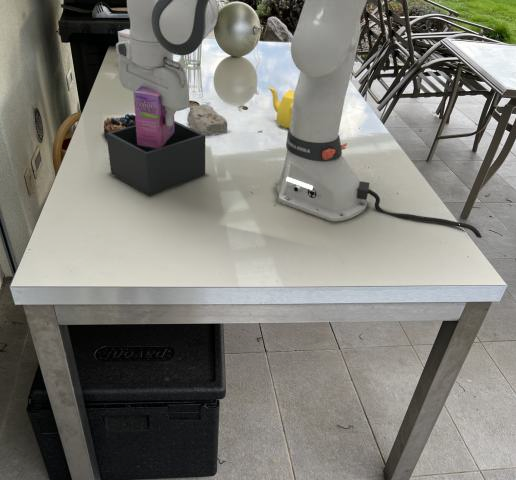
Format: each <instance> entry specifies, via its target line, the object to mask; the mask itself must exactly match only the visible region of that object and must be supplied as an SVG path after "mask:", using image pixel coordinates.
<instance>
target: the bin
mask: <svg viewBox="0 0 516 480" xmlns="http://www.w3.org/2000/svg"><path fill="white" fill-rule="evenodd" d="M174 126H175V133H174V134H173V135H172V136H171V137H170V138H169V139H168V141H167V142H166V143H165V144H164V145H163V146H162V147H161V148H158V149H155V148H149V147H144V146H139V145H137V133H136V125H134V126H130V127H126V128H123V129H119V130H115V131H112V132H108V133H106V134H107V139H106V142H107V150H108V158H109V167H110V174H111V175H112V176H114V177H116V178H118V179H119V180H121V181H122V182H123V183H125V184H128V185H129V186H131V187H133V188H134V189H136V190H138V191H139V192H141V193H143V194H145V195H146V196H148V197H151V196H153V195H156V194H159V193H161V192H164V191H167V190H169V189H172V188H175V187H178V186H180V185H182V184H186V183H187V182H191V181H193V180H196V179H199V178H201V177H204V176H206V134H202V133H200V132H198V131H197V130H195V129H194V128H192V127H189V126H187V125H185V124H183V123H180V122H178V121H176V120H174Z"/></svg>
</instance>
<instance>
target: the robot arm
mask: <svg viewBox="0 0 516 480" xmlns="http://www.w3.org/2000/svg"><path fill="white" fill-rule="evenodd" d="M367 2H368V0H304V3H303V6H302V9H301V12H300V14H299V17H298V18H299V19H298V22H297V25H296V28H295V30H294V33H293V36H292V38H291V42H290V55H291V59H292V62H293V64H294V65H295V67H296V68H297V70H299V76H298V79H297V83H296V87H295V89H294V91H295V92H294V98H293V107H292V116H291V124H290V128H288V130H287V137H286V142H285V143H286V144H285V147H286V154H285V159H284V164H283V167H282V171H281V175H280V176H279V177H280V178H279V180H278V183H277V184H276V192H277V194H278V199H277V201H278V203H279V204H283V205H285V206H288V207H290V208H294V209H297V210H299V211H302V212H304V213H306V214H307V213H308V214H309V215H313V216H315V217H319V218H322V219H323V220H327V221H328V222H329V221H330V222H335V223H336V222H343V221H346V220H350V219H353V218H354V217H356V216H359V215H360V214H361V213H363V212H364V211H365V210H366V208H367V205H368V200H367V199H368V195H370V196H372V197H373V198H374V200H375V202H374V208H375V210H376V211H377V212H379V213H381V214H385V215H388V216H391V217H394V218H399V219H409V220H415V221H419V222H420V221H421V222H428V223H437V224H442V225H443V224H444V225H448V226H452V227H458V228H463V229H466V230H469V231H471V232H472V233H473V234H474V235H475V237H476V238H478V239H482V238H483V237H482V235H481V233H480V231H479V230H478V229H477V228H476V227H475V226H473V225H471V224H469V223H465V222H459V221H455V220H450V219H446V218H445V219H444V218H437V217H430V216H421V215H417V214H411V213H400V212H399V213H398V212H397V213H396V212H389V211H386V210H384V209H383V208H381V206H380V203H381V198H380V195H378V193H377V192H375V191H374V190H372V189H370V182H366V181H361V180H360V179H359V177H358V175H357V174H356V173H355V172H354V171H353V170H354V169H352V167H351V166H350V165H349V163H348V161H347V160H346V159H345V158H344V156H343V155H342V154H343V150H345V149H347V147H346V146H347V145H348V143H344V144H341V138H340V135H339V133H340V127H341V122H342V117H343V111H344V110H343V109H344V105H345V100H346V95H347V92H348V87H349V84H350V80H351V76H352V72H353V69H354V68H353V67H354V64H355V61H356V60H355V59H356V56H357V51H358V48H359V47H358V46H359V43H360V42H359V41H360V37H361V31H362V30H361V28H362V25H361V17H362V15H363V12H364V9H365V6H366V4H367ZM126 10H127V15H128V18H129V24H130V27H129V30H130V32H129V37H130V40H129V41H124V42H119V41H118V42H117V43H116V44H115V50H116V53H117V54H118V57H117V66H118V67H117V68H118V76H119V81H120V83H121V85H122V87H123V88H124V89H127V90H129V91H131V92H132V93H133V94H134V92H135V91H136V90H137V89H138V88H139V87H141V86H144V87H146V88H149V89H151V90H153V91H155V92H157V93H159V94H160V101H161V104H162V105H164V106H165V111H167V113H166V116H163V124H164V125H167V126H171V125H173V117H174V118H175V114H176V113H177V112H179V111H183V110H187V109H188V108H189V107H190V91H189V83H188V77H187V73H186V71H185V69H184V68H183V67H182V64H181V63H180V62H178V61H174V55H177V56H187V55H190V54H192V53H194V52H195V51H197V50H198V48H199V47H200V46H201V44H202V42H203V41H204V40H205V39H207V37H208V36H209V35H210V33H211V32H212V31H213V30H214V28H216V25H217V24H218V20H219V13H220V12H219V10H220V9H219V5H218V1H217V0H126ZM459 224H460V225H459Z"/></svg>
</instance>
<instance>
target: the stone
mask: <svg viewBox="0 0 516 480" xmlns="http://www.w3.org/2000/svg"><path fill="white" fill-rule="evenodd" d="M187 114H188V115H187V118H186V119H187V123H188V125H189V126H190V128H192V129H193V130H195V131H197V132H200V133H202V134H204V135H205V136H211V134H212V135H213V134H214V135H215V134H220V133H225V132H227V131H228V125H229V124H228V120H227V119H226V118H225V117H224V116H223V115H221V114H218V112H217V111H216V110H215V109H214V107H213V106H212V105H208V104H200V105H191V106H189V112H188V113H187Z"/></svg>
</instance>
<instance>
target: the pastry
mask: <svg viewBox="0 0 516 480" xmlns="http://www.w3.org/2000/svg"><path fill="white" fill-rule="evenodd" d="M134 125H136V119H135V114H133V113H131V114H130V113H126V114H125V115H124V116H121V117H113V116H112V117H107V118H106V120H104V121H103V133H104V138H105V139H106V140H107V134H106V133H108V132H112V131H115V130H119V129H123V128H126V127H130V126H134Z"/></svg>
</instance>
